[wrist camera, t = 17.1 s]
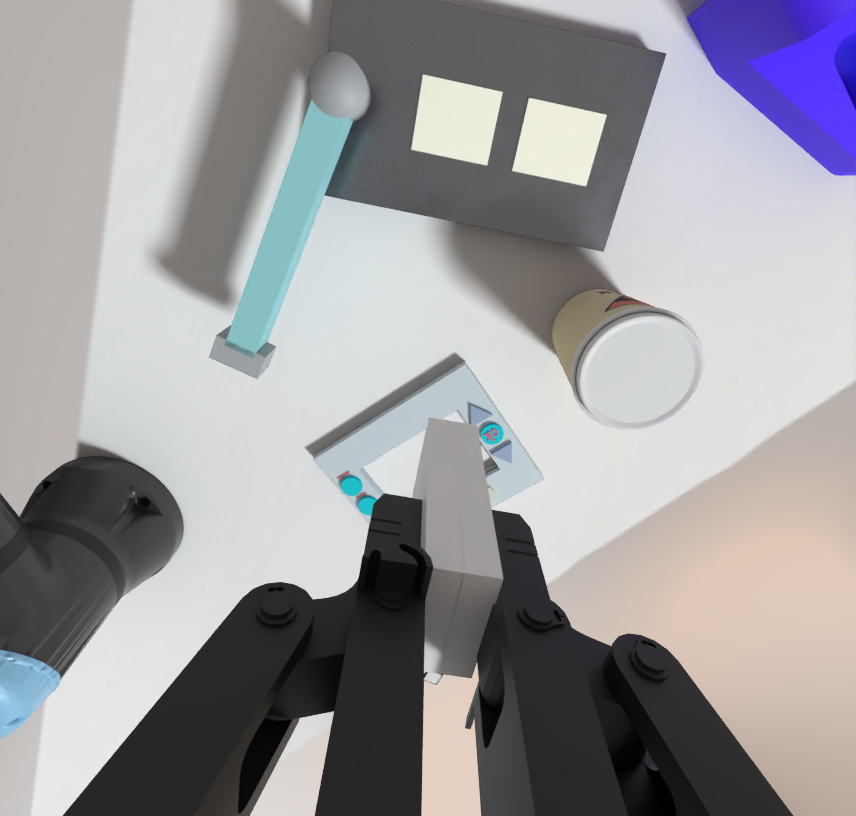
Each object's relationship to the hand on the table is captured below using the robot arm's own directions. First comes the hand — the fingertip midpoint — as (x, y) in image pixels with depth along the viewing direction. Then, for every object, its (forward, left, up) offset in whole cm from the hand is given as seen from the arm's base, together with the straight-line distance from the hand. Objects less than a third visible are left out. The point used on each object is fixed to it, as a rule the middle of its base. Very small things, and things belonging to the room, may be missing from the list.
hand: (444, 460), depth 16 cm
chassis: (+1, +12, -32) cm, 35 cm away
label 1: (-1, +12, -30) cm, 33 cm away
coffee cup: (+15, -2, -33) cm, 36 cm away
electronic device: (+3, -19, -33) cm, 38 cm away
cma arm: (-12, +3, -28) cm, 30 cm away
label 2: (+7, +12, -30) cm, 33 cm away
